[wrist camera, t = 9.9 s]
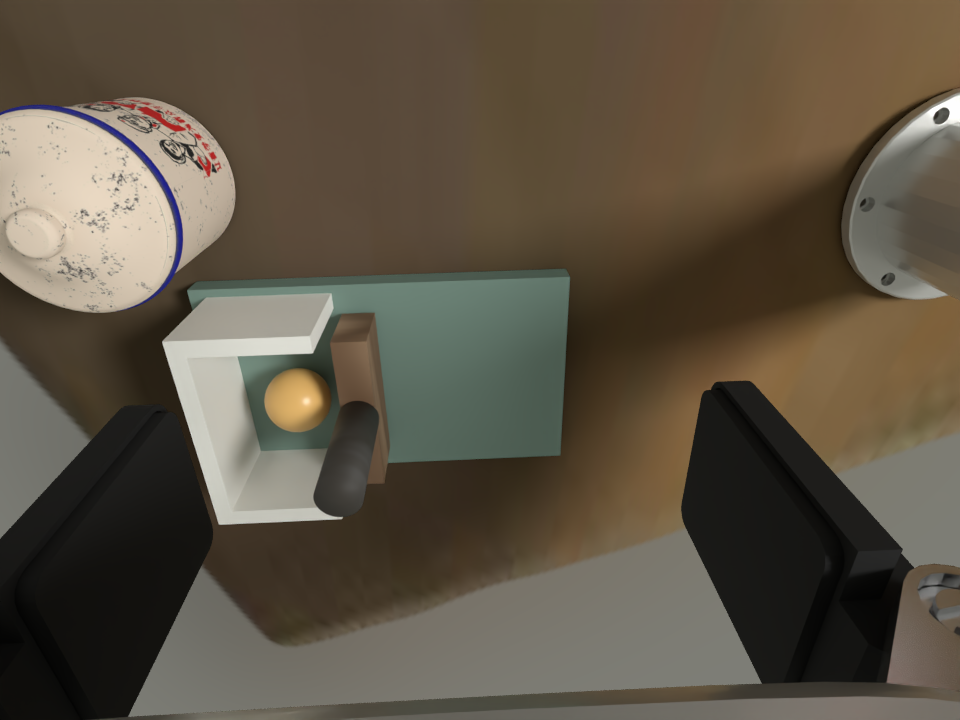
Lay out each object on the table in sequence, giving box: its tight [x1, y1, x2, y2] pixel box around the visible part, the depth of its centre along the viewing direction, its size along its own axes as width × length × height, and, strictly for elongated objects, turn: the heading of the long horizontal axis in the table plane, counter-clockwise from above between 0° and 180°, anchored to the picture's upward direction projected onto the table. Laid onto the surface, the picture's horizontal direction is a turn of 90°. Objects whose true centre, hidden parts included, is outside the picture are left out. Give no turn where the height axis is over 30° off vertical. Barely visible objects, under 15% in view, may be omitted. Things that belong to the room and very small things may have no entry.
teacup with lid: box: [0, 97, 235, 313], centre depth 28 cm, size 12×9×12 cm
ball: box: [264, 368, 332, 432], centre depth 36 cm, size 4×4×4 cm
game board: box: [162, 269, 570, 525], centre depth 36 cm, size 23×14×8 cm, turn 91°
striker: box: [313, 313, 390, 517], centre depth 33 cm, size 2×10×11 cm, turn 1°
